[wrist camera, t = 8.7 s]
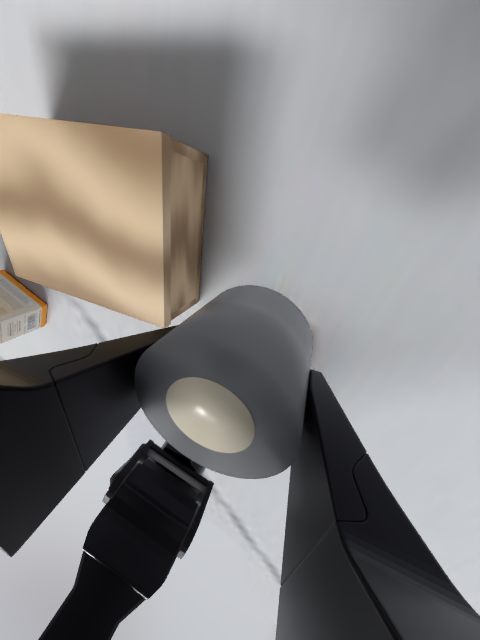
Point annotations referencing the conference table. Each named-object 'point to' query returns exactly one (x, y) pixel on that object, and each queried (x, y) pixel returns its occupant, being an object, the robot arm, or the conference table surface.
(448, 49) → the conference table surface
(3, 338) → the supplement box
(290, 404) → the grey cylinder cream end
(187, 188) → the kraft box
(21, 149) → the lid
